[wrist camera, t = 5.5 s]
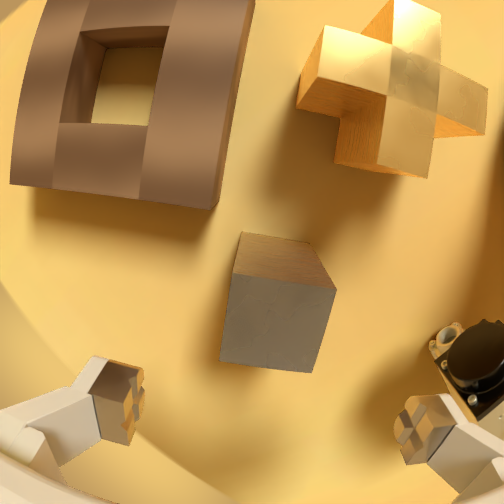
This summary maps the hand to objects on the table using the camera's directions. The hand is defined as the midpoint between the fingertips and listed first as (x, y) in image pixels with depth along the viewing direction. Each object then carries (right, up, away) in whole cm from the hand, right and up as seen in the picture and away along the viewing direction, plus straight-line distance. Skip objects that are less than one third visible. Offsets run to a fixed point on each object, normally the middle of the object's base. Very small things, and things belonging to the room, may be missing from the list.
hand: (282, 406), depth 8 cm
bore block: (-9, +15, +10) cm, 20 cm away
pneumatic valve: (+16, -3, +15) cm, 22 cm away
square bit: (0, +3, +13) cm, 14 cm away
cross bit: (+6, +14, +10) cm, 18 cm away
